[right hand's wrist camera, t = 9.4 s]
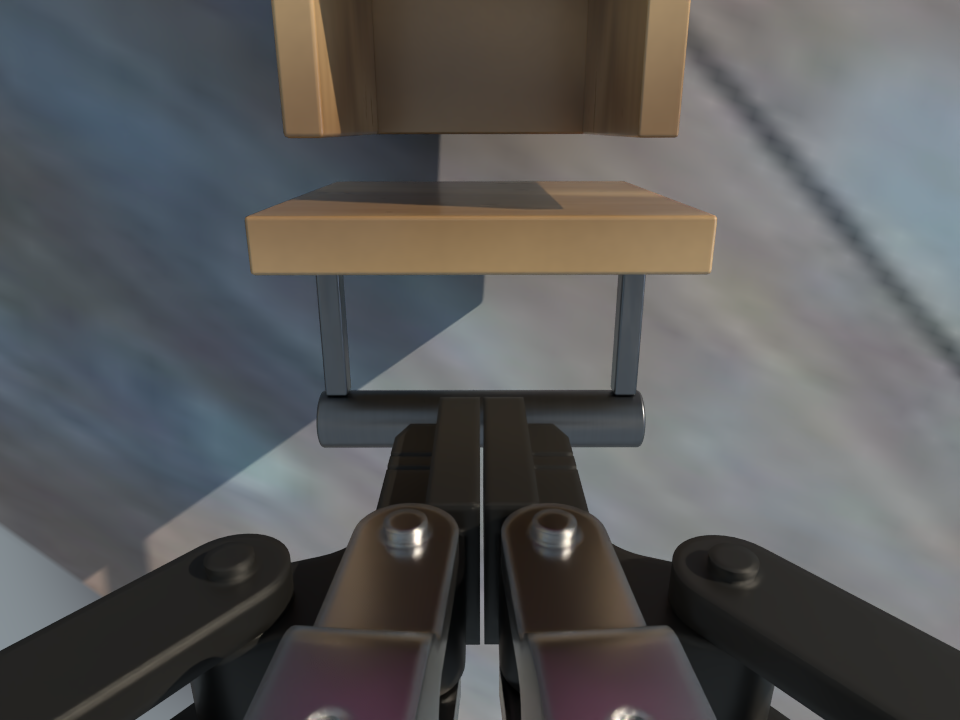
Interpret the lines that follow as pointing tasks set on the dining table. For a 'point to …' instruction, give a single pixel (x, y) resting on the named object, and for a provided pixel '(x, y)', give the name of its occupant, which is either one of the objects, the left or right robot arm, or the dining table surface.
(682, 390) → the dining table surface
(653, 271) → the drawer
